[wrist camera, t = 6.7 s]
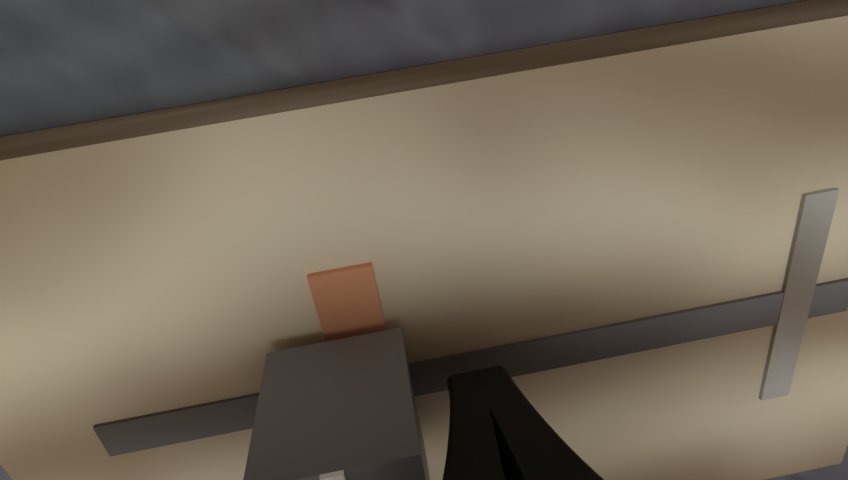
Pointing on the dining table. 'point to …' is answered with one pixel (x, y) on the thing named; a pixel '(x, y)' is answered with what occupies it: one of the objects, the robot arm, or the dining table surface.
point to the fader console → (453, 254)
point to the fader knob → (338, 413)
